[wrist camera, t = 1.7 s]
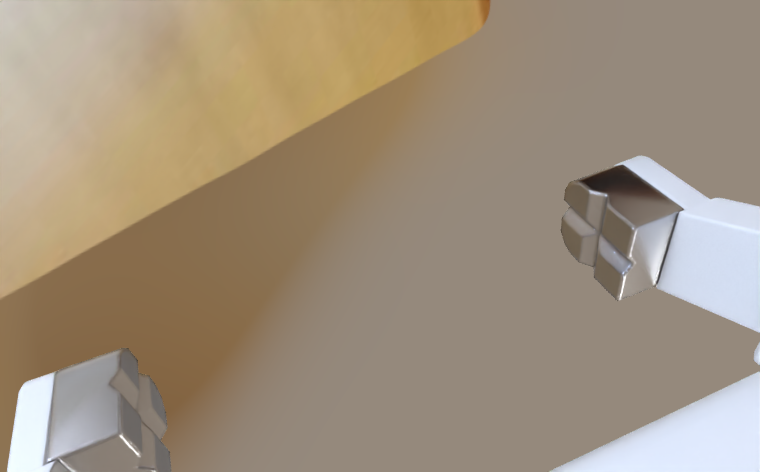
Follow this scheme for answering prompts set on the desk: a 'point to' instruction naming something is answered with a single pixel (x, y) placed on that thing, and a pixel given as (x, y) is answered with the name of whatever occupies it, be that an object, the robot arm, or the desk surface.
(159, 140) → the desk surface
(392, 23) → the desk surface
